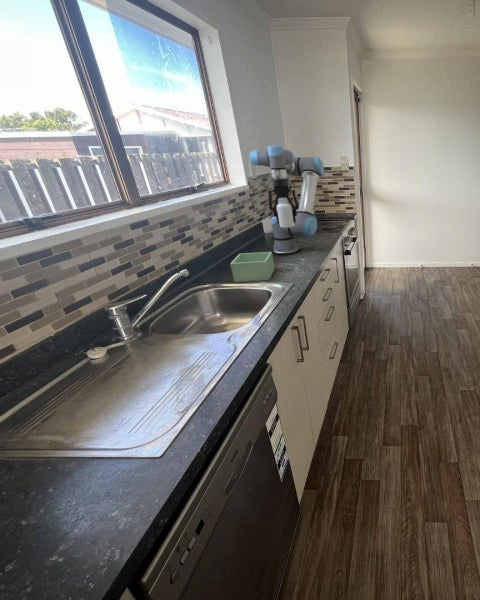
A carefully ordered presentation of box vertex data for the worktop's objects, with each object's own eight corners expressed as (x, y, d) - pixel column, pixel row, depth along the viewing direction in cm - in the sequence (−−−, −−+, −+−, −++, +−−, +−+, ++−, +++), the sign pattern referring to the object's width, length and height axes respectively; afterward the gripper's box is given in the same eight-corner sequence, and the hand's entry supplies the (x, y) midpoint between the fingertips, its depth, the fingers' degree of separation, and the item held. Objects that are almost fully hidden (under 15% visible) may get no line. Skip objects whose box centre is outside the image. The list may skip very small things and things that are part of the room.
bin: (243, 271, 178) (239, 253, 174) (274, 268, 181) (271, 251, 177) (234, 282, 164) (230, 263, 159) (269, 279, 166) (265, 261, 162)
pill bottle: (276, 227, 178) (271, 198, 172) (286, 224, 185) (281, 197, 179) (288, 228, 176) (284, 199, 170) (297, 225, 183) (293, 197, 176)
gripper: (257, 179, 165) (265, 224, 174) (299, 178, 168) (305, 222, 178) (260, 178, 172) (268, 222, 181) (301, 177, 175) (306, 220, 185)
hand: (286, 222), depth 180 cm, fingers closed on pill bottle, 8 cm apart
